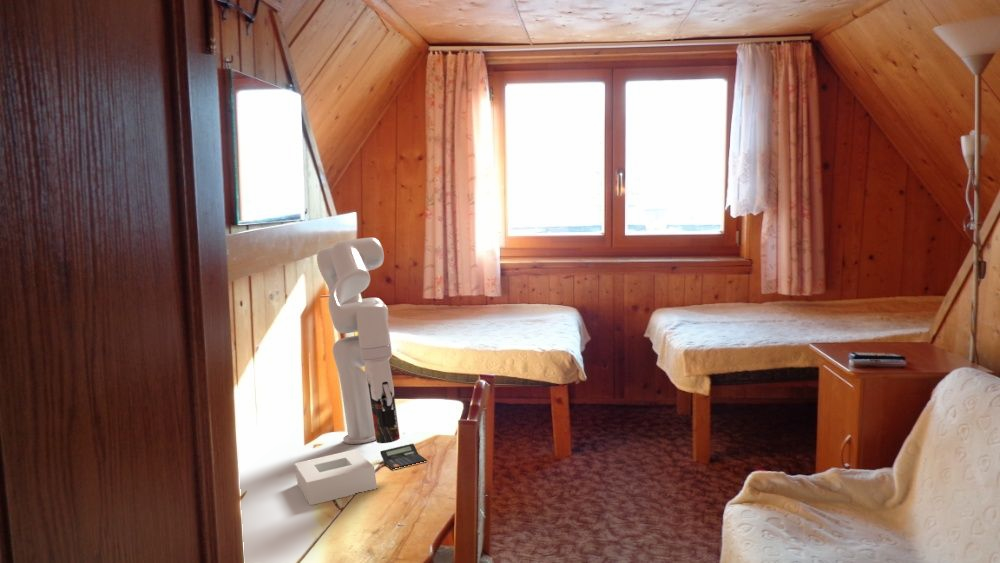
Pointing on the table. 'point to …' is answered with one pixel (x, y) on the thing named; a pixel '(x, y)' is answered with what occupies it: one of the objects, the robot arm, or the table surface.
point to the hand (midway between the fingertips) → (385, 422)
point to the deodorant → (381, 432)
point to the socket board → (335, 476)
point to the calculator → (401, 456)
